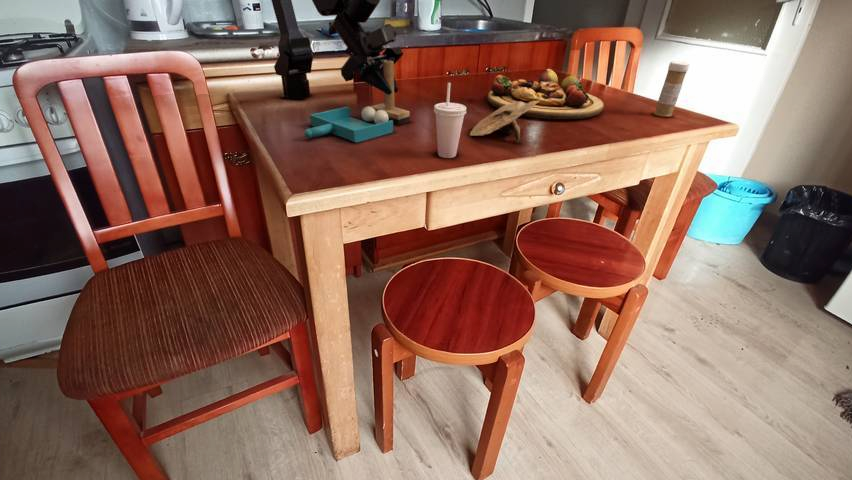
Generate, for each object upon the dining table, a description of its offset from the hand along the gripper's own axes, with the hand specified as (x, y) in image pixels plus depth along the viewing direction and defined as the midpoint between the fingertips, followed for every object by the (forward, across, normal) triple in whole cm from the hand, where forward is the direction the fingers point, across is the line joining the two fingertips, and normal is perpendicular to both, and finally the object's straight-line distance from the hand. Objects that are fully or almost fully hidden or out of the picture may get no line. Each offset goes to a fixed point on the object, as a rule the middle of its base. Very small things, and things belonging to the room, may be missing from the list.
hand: (393, 92), depth 108 cm
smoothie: (+21, -14, -11) cm, 27 cm away
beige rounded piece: (-1, -6, +6) cm, 8 cm away
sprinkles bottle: (+45, +48, -35) cm, 74 cm away
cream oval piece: (+2, -6, +3) cm, 7 cm away
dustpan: (+1, -15, +8) cm, 17 cm away
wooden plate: (+23, +38, -13) cm, 46 cm away
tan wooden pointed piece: (+23, +4, -14) cm, 27 cm away
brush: (+4, 0, +6) cm, 7 cm away
